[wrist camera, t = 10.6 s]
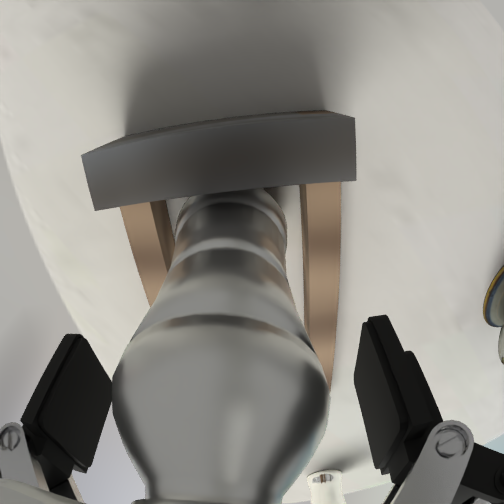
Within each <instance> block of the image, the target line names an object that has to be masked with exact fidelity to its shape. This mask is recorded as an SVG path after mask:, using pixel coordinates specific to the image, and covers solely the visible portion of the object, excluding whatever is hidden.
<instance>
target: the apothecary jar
mask: <svg viewBox="0 0 504 504" xmlns="http://www.w3.org/2000/svg"><path fill="white" fill-rule="evenodd" d="M483 315H484V319H485V321H486V322H487V323H488V324H489V325H490V326H493V327H501V331H500V335H499V343H498V353H499V357H500V360H501V362H502V363H503V364H504V266H503V267H502V268H501V270H500V271H499V272H498V274H497V275H496V276H495V278H494V280H493V281H492V283H491V285H490V287H489V289H488V292H487V294H486V297H485V301H484V306H483Z"/></svg>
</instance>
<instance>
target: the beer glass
mask: <svg viewBox="0 0 504 504" xmlns="http://www.w3.org/2000/svg"><path fill="white" fill-rule="evenodd" d="M307 482H308V485H309V488H310V493H311V504H346V501H345V499H344V496H343V492H342V486H341V482H342V473H341V471H339V470H324V471H319V472H316V473H313V474H311V475H309V476H308V477H307Z"/></svg>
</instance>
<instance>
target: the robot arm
mask: <svg viewBox="0 0 504 504" xmlns="http://www.w3.org/2000/svg"><path fill="white" fill-rule="evenodd" d="M354 385H355V389H356V393H357V396H358V400H359V404H360V408H361V412H362V416H363V420H364V424H365V428H366V432H367V437H368V441H369V445H370V450H371V454H372V458H373V463H374V466H375V468H376V469H380V470H381V474H382V475H385V474H389V473H390V476H391V481H392V483H394V485H393V486H392V488H391V490H390V491H389V493H388V495H387V496H386V498H385V499H384V501H383V503H382V504H504V454H502V453H499V452H496V451H494V450H491V449H489V448H486V447H484V446H482V445H479V444H477V443H474V439H473V434H472V432H471V430H470V429H469V428H468V427H467V426H466V425H465V424H463V423H461V422H459V421H454V420H449V421H444V422H443V419H442V417H441V414H440V412H439V409H438V407H437V404H436V402H435V400H434V397H433V395H432V392H431V390H430V388H429V386H428V383H427V381H426V379H425V376H424V374H423V372H422V370H421V367H420V365H419V363H418V361H417V359H416V357H415V355H414V353H413V352H412V351H405V352H404V350H403V348H402V346H401V343H400V341H399V339H398V337H397V335H396V333H395V330H394V328H393V326H392V324H391V322H390V320H389V318H388V316H387V315H380V316H373V317H369V318H368V321H367V322H364V323H363V324H362V330H361V337H360V343H359V349H358V355H357V360H356V366H355V371H354ZM111 402H112V382H111V380H110V378H109V377H108V375H107V373H106V372H105V370H104V369H103V367H102V365H101V364H100V362H99V360H98V358H97V357H96V355H95V353H94V351H93V350H92V348H91V346H90V344H89V343H88V341H87V339H85V338H84V337H83V336H82V335H81V334H66V335H65V336H64V338H63V339H62V341H61V343H60V344H59V346H58V348H57V350H56V351H55V354H54V355H53V357H52V359H51V360H50V362H49V364H48V366H47V368H46V370H45V372H44V374H43V375H42V377H41V379H40V381H39V383H38V385H37V387H36V389H35V391H34V393H33V395H32V397H31V399H30V401H29V403H28V405H27V407H26V409H25V411H24V413H23V415H22V418H21V422H22V423H23V426H22V427H21V426H20V425H19V424H18V423H13V422H11V423H8V424H5V425H4V426H3V427H2V428H1V429H0V504H85V503H84V501H83V499H82V497H81V494H80V492H79V490H78V488H77V486H76V483H75V481H74V479H73V476H72V474H71V473H72V470H73V469H74V470H75V471H79V472H82V473H87V470H88V467H90V466H91V465H92V462H93V459H94V455H95V452H96V449H97V445H98V442H99V439H100V436H101V433H102V429H103V426H104V423H105V420H106V417H107V414H108V411H109V408H110V405H111Z"/></svg>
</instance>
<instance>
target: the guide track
mask: <svg viewBox="0 0 504 504" xmlns="http://www.w3.org/2000/svg"><path fill="white" fill-rule="evenodd" d="M81 157H82V162H83V166H84V170H85V174H86V179H87V183H88V187H89V190H90V194H91V198H92V202H93V205H94V209H95V211H98V210H103V209H109V208H115V207H120V209H121V213H122V217H123V221H124V224H125V228H126V232H127V235H128V239H129V242H130V246H131V249H132V252H133V256H134V259H135V262H136V265H137V269H138V272H139V275H140V278H141V281H142V284H143V287H144V290H145V293H146V296H147V299H148V302H149V305H150V308H151V306H152V305H153V303H154V301H155V300H156V298H157V295H158V293H159V291H160V289H161V287H162V284H163V282H164V280H165V279H166V276H167V274H168V271H169V269H170V267H171V263H172V258H173V254H174V249H175V241H174V237H173V233H172V228H171V224H170V219H169V215H168V210H167V206H166V201H165V200H166V199H173V198H180V197H188V196H196V195H203V194H211V193H220V192H228V191H237V190H247V189H256V188H266V187H277V186H288V185H299V186H300V203H301V222H302V245H303V275H304V328H305V330H306V332H307V335H308V337H309V339H310V341H311V343H312V346H313V348H314V350H315V352H316V355H317V357H318V360H319V362H320V363H321V365H322V368H323V371H324V374H325V378H326V380H327V383H328V386H329V391H330V389H331V380H332V371H333V361H334V350H335V338H336V326H337V311H338V294H339V273H340V239H341V182H343V181H356V136H355V118H354V117H350V116H346V115H342V114H338V113H334V112H330V111H326V110H319V111H298V112H283V113H271V114H259V115H250V116H240V117H232V118H224V119H217V120H210V121H203V122H196V123H190V124H184V125H178V126H173V127H167V128H162V129H157V130H152V131H147V132H143V133H138V134H133V135H129V136H125V137H122V138H120V139H117V140H115V141H112V142H110V143H108V144H105V145H103V146H101V147H98V148H96V149H94V150H92V151H89V152H87V153H85V154H83V155H81Z"/></svg>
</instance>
